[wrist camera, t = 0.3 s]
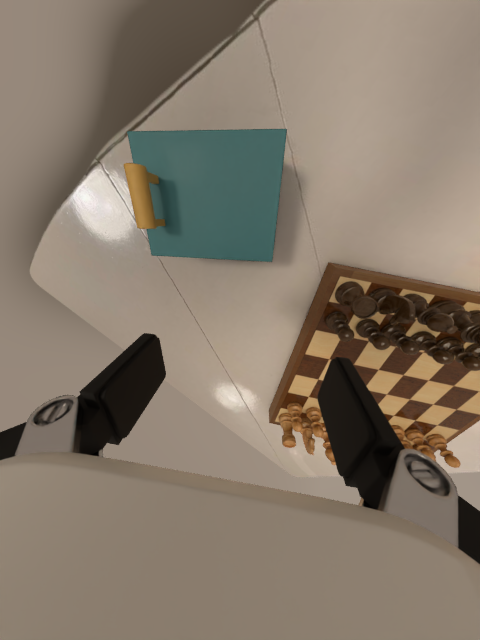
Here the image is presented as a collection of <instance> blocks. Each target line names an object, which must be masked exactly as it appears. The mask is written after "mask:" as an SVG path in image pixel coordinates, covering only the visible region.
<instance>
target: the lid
mask: <svg viewBox="0 0 480 640" xmlns="http://www.w3.org/2000/svg"><path fill="white" fill-rule="evenodd" d="M127 133H128V138H129V143H130V148H131V153H132V158H133V163H126V164H124V168H125V173H126V177H127V182H128V187H129V191H130V196H131V200H132V205H133V209H134V214H135V219H136V223H137V228H140V229H147V234H148V239H149V244H150V249H151V254H152V255H154V256H172V257H191V258H210V259H228V260H247V261H266V262H272V259H273V250H274V241H275V232H276V223H277V214H278V205H279V196H280V187H281V178H282V169H283V160H284V151H285V142H286V133H287V129H251V130H189V131H128V132H127Z"/></svg>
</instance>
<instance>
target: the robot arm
mask: <svg viewBox="0 0 480 640" xmlns="http://www.w3.org/2000/svg"><path fill="white" fill-rule="evenodd" d="M165 376H166V371H165V366H164V361H163V356H162V350H161V345H160V340H159V338H158V337H157V336H156V335H155V334H147V333H144V334H143V335H141V336H140V337H139V338H138V339H137V340H136V341H135V342H134V343H133V344H132V345H130V346H129V347H128V348H127V349H126V350H125V351H124V352H123V353H122V354H121V355H120V356H118V357H117V358H116V359H115V360H114V361H113V362H112V363H111V364H110V365H109V366H107V367H106V368H105V369H104V370H103V371H102V372H101V373H100V374H99V375H98V376H97V377H96V378H94V379H93V380H92V381H91V382H90V383H89V384H88V385H87V386H86V387H84V388H83V389H82V390H81V391H80V395H79V396H78V397H75V396H73V395H63V396H59V397H56V398H54V399H51V400H49V401H48V402H46V403H44V404H42V405H41V406H40V407H38V408H37V409H36V410H35V411H34V412H33V413H32V414H31V415H30V417H29V418H28V420H27V422H25V423H23V424H20V425H18V426H15V427H13V428H10V429H8V430H5V431H2V432H0V640H480V511H479V510H477V509H476V508H475V507H473V506H472V505H470V504H469V503H468V502H467V501H465V500H464V499H462V498H461V497H460V496H458V493H457V489H456V486H455V484H454V483H453V481H452V479H451V478H450V476H449V475H448V474H447V472H446V471H445V470H444V469H443V468H442V467H441V466H440V465H439V464H438V463H437V462H435V461H434V460H433V459H431V458H430V457H429V456H427V455H425V454H423V453H422V452H420V451H417V450H414V449H405V448H404V446H403V444H402V443H401V441H400V439H399V438H398V436H397V435H396V433H395V431H394V430H393V428H392V426H391V425H390V423H389V422H388V420H387V418H386V417H385V415H384V413H383V412H382V410H381V408H380V407H379V405H378V404H377V402H376V400H375V399H374V397H373V395H372V394H371V392H370V391H369V390H368V388H367V386H366V385H365V383H364V381H363V380H362V378H361V376H360V375H359V373H358V372H357V370H356V368H355V367H354V365H353V363H352V362H351V360H350V359H349V358H343V357H336V358H335V359H332V360H331V361H330V364H329V367H328V369H327V372H326V374H325V377H324V379H323V382H322V384H321V387H320V390H319V392H318V396H317V399H318V404H319V407H320V410H321V414H322V417H323V421H324V424H325V428H326V431H327V435H328V438H329V442H330V445H331V449H332V452H333V455H334V459H335V462H336V466H337V469H338V472H339V474H340V476H343V478H344V481H345V484H346V486H350V487H356V488H358V491H359V494H360V496H361V500H360V503H359V505H353V504H349V503H344V502H339V501H335V500H330V499H326V498H321V497H316V496H310V495H306V494H300V493H295V492H290V491H284V490H279V489H274V488H269V487H264V486H258V485H253V484H248V483H243V482H237V481H231V480H227V479H221V478H216V477H211V476H205V475H200V474H194V473H189V472H184V471H178V470H173V469H166V468H162V467H156V466H151V465H145V464H139V463H134V462H128V461H122V460H117V459H111V458H104V457H103V448H104V446H105V445H106V443H110V444H116V445H119V443H120V442H121V440H122V439H123V438H125V437H127V435H128V434H129V433H130V431H131V430H132V428H133V426H134V425H135V423H136V422H137V420H138V419H139V417H140V415H141V414H142V413H143V411H144V410H145V408H146V406H147V405H148V403H149V402H150V400H151V399H152V397H153V396H154V394H155V393H156V391H157V389H158V388H159V386H160V385H161V383H162V382H163V380H164V378H165Z"/></svg>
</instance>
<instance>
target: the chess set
mask: <svg viewBox="0 0 480 640" xmlns="http://www.w3.org/2000/svg"><path fill="white" fill-rule="evenodd" d="M336 357H343V358H349V359H350V360H351V362H352V363H353V365H354V367H355V368H356V370H357V372H358V373H359V375H360V376H361V378H362V380H363V381H364V383H365V385H366V386H367V388H368V390H369V391H370V392H371V394H372V395H373V397H374V399H375V400H376V402H377V404H378V405H379V407H380V408H381V410H382V412H383V413H384V415H385V417H386V418H387V420H388V422H389V423H390V425H391V426H392V428H393V430H394V431H395V433H396V435H397V436H398V438H399V439H400V441H401V443H402V444H403V446H404V448H405V449H414V450H417V451H420V452H422V453H423V454H425V455H427V456H429V457H430V458H431V459H433V460H434V461H435V462H436V460H435V458H436V457H435V455H434V452H436V451H437V450H438V449H439V450H440V451H441V453H440V455H441V456H443V457H445V458H444V459H445V461H446V463H447V464H448V465H449V466H451V467H454V468H457V467H459V466H460V461H459V460H458V459H457V458H456V457H455V456H452V455H453V452H452V451H449V450H447V449H446V447H447V445H446V444H447V443H448V442H450V441H451V440H452V439H454V438H455V437H457V436H458V435H459V434H461V433H462V432H464V431H465V430H467V429H468V428H469V427H471V426H472V425H474V424H475V423H476V422H478V421H479V420H480V292H475V291H470V290H465V289H460V288H455V287H450V286H445V285H440V284H435V283H430V282H425V281H420V280H415V279H410V278H405V277H399V276H394V275H389V274H384V273H379V272H374V271H369V270H364V269H359V268H354V267H349V266H344V265H339V264H334V263H329V262H328V265H327V267H326V270H325V272H324V275H323V277H322V280H321V282H320V285H319V287H318V290H317V292H316V295H315V297H314V300H313V302H312V305H311V307H310V310H309V312H308V315H307V317H306V319H305V322H304V324H303V327H302V329H301V332H300V334H299V337H298V339H297V342H296V344H295V347H294V349H293V352H292V354H291V357H290V359H289V362H288V364H287V367H286V369H285V372H284V374H283V377H282V379H281V382H280V384H279V387H278V389H277V392H276V394H275V397H274V399H273V402H272V404H271V406H270V409H269V423H273V424H277V425H281V427H282V428H283V431H284V435H283V436H282V443H283V445H284V446H285V447H288V448H292V447H295V446H296V441H295V437H294V436H293V434H292V429H294V430H295V431H296V432H300V433H301V434H302V435H303V441H304V444H305V448H306V450H307V452H308V453H309V454H310V455H311V454H312V455H314V454H313V452H314V442H315V440H314V439H313V438H312V434H313V433H314V435H315V436H316V437H321V438H323V439H324V441H325V443H323V447H324V448H325V449H326V451H325V454H326V456H327V458H328V459H329V460H330V461H331V464H332V465H336V462H335V459H334V455H333V452H332V449H331V445H330V442H329V438H328V435H327V431H326V428H325V424H324V421H323V417H322V414H321V410H320V407H319V404H318V399H317V396H318V392H319V390H320V387H321V384H322V382H323V379H324V377H325V374H326V372H327V369H328V367H329V364H330V361H331V360H332V359H335V358H336Z"/></svg>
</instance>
